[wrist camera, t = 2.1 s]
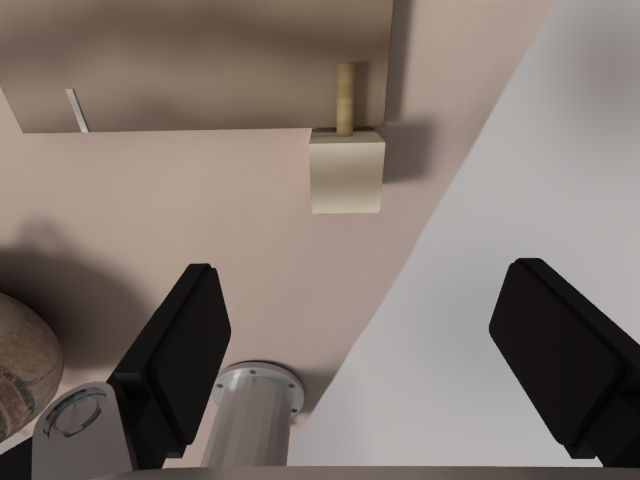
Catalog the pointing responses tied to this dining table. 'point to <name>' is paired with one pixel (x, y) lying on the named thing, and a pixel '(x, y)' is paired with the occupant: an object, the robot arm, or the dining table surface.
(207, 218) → the dining table surface
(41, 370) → the cooking pot
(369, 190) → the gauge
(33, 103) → the board
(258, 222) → the dining table surface
